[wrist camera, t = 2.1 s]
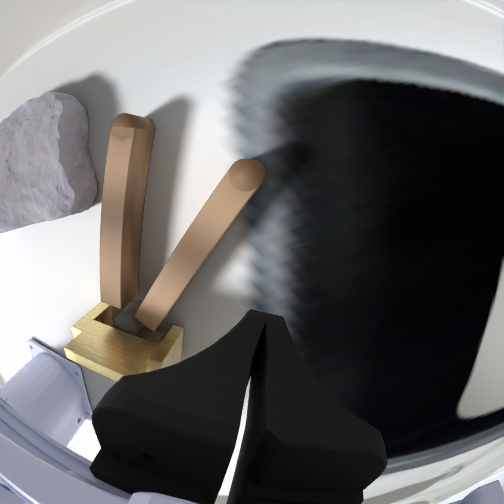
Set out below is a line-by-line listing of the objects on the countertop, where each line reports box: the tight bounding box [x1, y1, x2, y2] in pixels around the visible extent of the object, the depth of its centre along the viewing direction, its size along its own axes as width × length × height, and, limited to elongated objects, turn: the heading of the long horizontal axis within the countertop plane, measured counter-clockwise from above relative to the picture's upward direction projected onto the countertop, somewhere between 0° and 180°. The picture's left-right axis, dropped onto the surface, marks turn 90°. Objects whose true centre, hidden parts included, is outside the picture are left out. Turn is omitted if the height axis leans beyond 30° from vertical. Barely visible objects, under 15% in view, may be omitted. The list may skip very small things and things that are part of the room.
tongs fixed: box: [100, 113, 161, 344], centre depth 17 cm, size 18×4×2 cm, turn 169°
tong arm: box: [134, 159, 266, 332], centre depth 16 cm, size 12×2×2 cm, turn 144°
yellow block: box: [64, 302, 184, 381], centre depth 17 cm, size 3×7×6 cm, turn 79°
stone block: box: [0, 91, 98, 233], centre depth 16 cm, size 12×5×10 cm
